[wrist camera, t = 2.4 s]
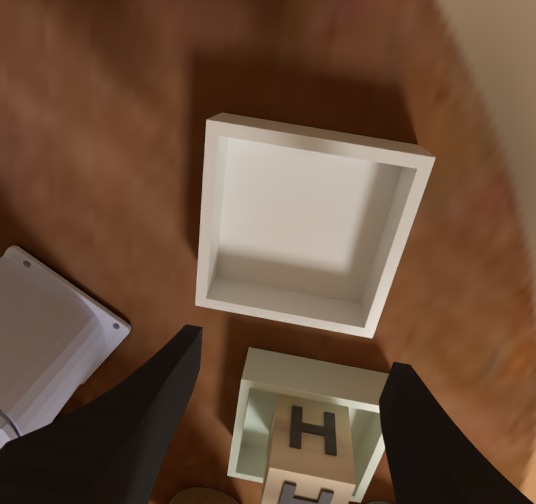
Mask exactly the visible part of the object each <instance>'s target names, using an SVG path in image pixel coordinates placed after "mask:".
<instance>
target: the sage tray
mask: <svg viewBox="0 0 536 504" xmlns="http://www.w3.org/2000/svg"><path fill="white" fill-rule="evenodd" d="M388 375H389V374H388V373H383V372H378V371H372V370H367V369H362V368H357V367H351V366H346V365H341V364H336V363H330V362H325V361H320V360H315V359H309V358H304V357H299V356H294V355H288V354H283V353H278V352H273V351H267V350H262V349H257V348H252V347H249V349H248V353H247V358H246V362H245V366H244V370H243V374H242V378H241V385H240V392H239V398H238V405H237V412H236V419H235V425H234V432H233V439H232V446H231V453H230V459H229V466H228V473H227V476H231V477H236V478H241V479H246V480H251V481H256V482H261V483H263V476H264V469H265V461H266V453H267V445H268V437H269V431H270V426H271V421H272V417H273V412H274V407H275V403H276V398H277V393H280V394H285V395H290V396H295V397H300V398H306V399H311V400H316V401H321V402H326V403H331V404H336V405H341V406H347V407H349V418H350V428H351V438H352V448H353V459H354V469H355V479H356V486H355V489H354V491H353V493H352V496H351V498H350V500H349V501H353V502H358V503H361V501H362V499H363V496H364V494H365V492H366V490H367V487H368V485H369V483H370V481H371V479H372V476H373V474H374V472H375V470H376V468H377V465H378V463H379V461H380V459H381V456H382V454H383V452H384V450H385V445H384V441H383V436H382V431H381V423H380V412H379V399H380V396H381V393H382V391H383V388H384V386H385V383H386V380H387V378H388Z"/></svg>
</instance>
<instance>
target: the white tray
mask: <svg viewBox="0 0 536 504" xmlns="http://www.w3.org/2000/svg"><path fill="white" fill-rule="evenodd" d="M434 161H435V157H434V156H433V155H431V154H430V153H429V152H427V151H426V150H425V149H423V148H422V147H421V146H419V145H416V144H410V143H404V142H398V141H392V140H386V139H380V138H374V137H368V136H362V135H356V134H350V133H343V132H337V131H331V130H325V129H319V128H313V127H307V126H301V125H295V124H289V123H283V122H277V121H271V120H265V119H259V118H253V117H247V116H241V115H234V114H228V113H222V112H221V113H219V114H217V115H215V116H213V117H211V118H209V119H206V134H205V151H204V168H203V184H202V201H201V218H200V235H199V251H198V268H197V285H196V302H195V305H196V306H202V307H207V308H212V309H218V310H223V311H228V312H234V313H239V314H244V315H250V316H255V317H260V318H266V319H271V320H276V321H282V322H287V323H292V324H298V325H303V326H309V327H314V328H319V329H325V330H330V331H335V332H341V333H346V334H351V335H357V336H362V337H367V338H373V335H374V332H375V329H376V327H377V324H378V321H379V318H380V315H381V312H382V309H383V307H384V304H385V301H386V298H387V295H388V292H389V289H390V287H391V284H392V281H393V278H394V275H395V272H396V269H397V267H398V264H399V261H400V258H401V255H402V252H403V250H404V247H405V244H406V241H407V238H408V235H409V232H410V230H411V227H412V224H413V221H414V218H415V215H416V212H417V210H418V207H419V204H420V201H421V198H422V195H423V192H424V190H425V187H426V184H427V181H428V178H429V175H430V172H431V170H432V167H433V164H434Z"/></svg>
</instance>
